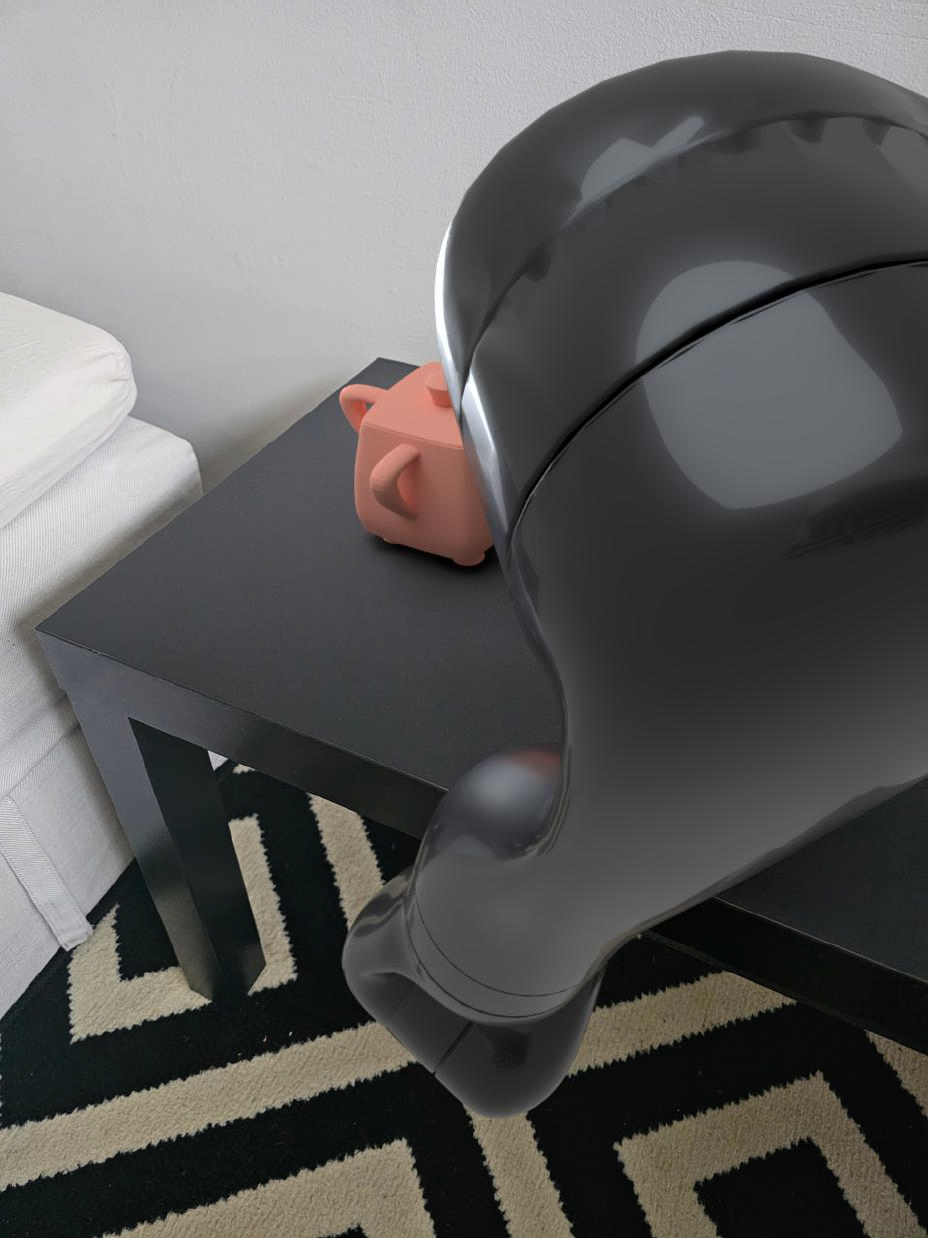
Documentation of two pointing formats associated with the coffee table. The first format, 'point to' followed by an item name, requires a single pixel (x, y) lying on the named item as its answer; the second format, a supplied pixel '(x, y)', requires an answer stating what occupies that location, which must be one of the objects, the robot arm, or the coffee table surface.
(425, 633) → the coffee table surface
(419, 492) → the teapot
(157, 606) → the coffee table surface
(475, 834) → the robot arm
